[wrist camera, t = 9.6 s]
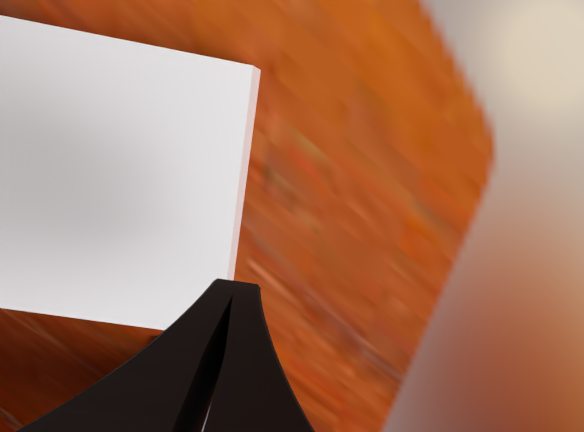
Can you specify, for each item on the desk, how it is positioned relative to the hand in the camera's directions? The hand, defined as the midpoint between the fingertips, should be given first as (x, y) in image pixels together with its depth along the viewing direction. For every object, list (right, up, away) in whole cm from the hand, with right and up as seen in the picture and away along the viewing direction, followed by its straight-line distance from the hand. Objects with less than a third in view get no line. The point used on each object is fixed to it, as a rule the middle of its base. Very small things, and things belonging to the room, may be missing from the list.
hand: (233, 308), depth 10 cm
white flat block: (-7, +5, +8) cm, 12 cm away
